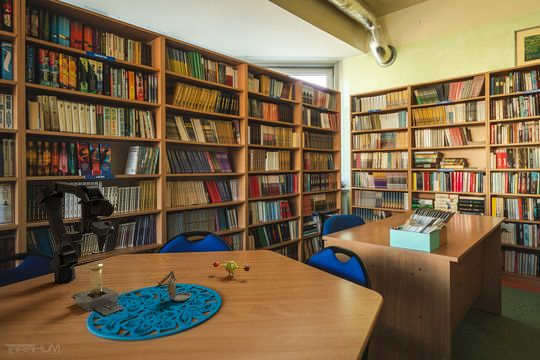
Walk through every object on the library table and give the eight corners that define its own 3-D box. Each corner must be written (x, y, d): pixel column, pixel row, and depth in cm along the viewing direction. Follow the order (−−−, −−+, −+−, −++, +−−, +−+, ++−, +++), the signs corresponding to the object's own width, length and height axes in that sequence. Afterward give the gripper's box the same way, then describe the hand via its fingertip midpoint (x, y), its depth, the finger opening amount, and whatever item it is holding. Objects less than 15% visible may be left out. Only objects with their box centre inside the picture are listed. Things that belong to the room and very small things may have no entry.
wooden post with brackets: (178, 278, 132) (174, 269, 130) (163, 291, 126) (159, 282, 125) (175, 277, 133) (172, 268, 131) (161, 290, 127) (157, 281, 126)
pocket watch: (194, 296, 115) (194, 269, 115) (180, 305, 107) (180, 276, 107) (175, 293, 118) (175, 267, 117) (161, 302, 110) (160, 274, 109)
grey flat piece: (66, 298, 114) (66, 289, 114) (95, 289, 122) (95, 282, 122) (98, 318, 98) (98, 309, 98) (129, 307, 106) (129, 298, 106)
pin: (86, 304, 108) (85, 266, 108) (96, 299, 112) (95, 262, 112) (97, 305, 107) (96, 267, 107) (106, 300, 111) (105, 263, 111)
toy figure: (209, 275, 137) (209, 260, 137) (216, 271, 142) (216, 257, 142) (246, 280, 131) (246, 265, 130) (252, 276, 136) (252, 261, 135)
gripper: (81, 220, 113) (82, 262, 113) (123, 213, 130) (124, 250, 131) (61, 218, 117) (62, 259, 118) (104, 212, 134) (105, 248, 135)
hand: (90, 254), depth 125 cm, fingers open, 9 cm apart
